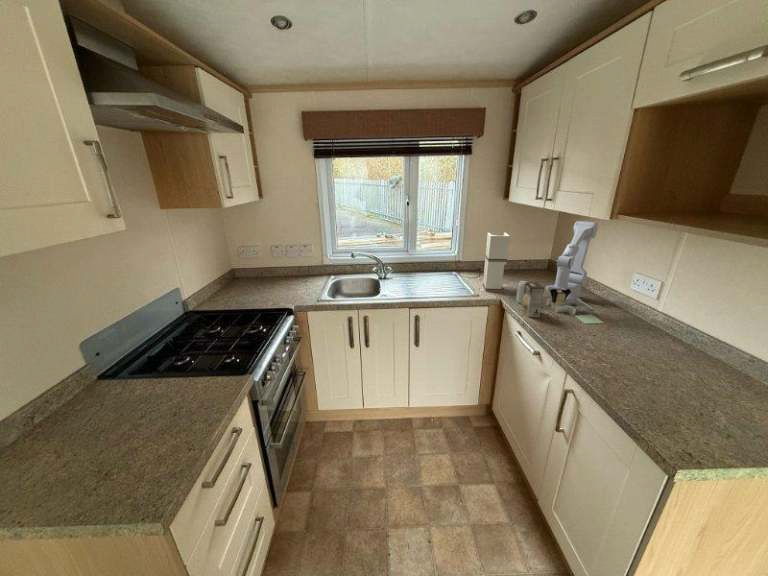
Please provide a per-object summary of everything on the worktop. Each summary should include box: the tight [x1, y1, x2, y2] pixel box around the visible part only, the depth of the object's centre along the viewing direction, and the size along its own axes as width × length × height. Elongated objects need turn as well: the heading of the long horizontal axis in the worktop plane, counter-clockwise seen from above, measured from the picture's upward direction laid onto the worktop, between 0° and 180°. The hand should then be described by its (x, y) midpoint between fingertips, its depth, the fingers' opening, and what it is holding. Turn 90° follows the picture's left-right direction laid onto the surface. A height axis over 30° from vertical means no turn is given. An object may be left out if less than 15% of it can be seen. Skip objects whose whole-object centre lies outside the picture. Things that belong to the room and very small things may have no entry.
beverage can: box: [515, 280, 528, 304], centre depth 171 cm, size 6×6×12 cm
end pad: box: [573, 314, 605, 325], centre depth 150 cm, size 9×9×1 cm
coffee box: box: [521, 281, 545, 318], centre depth 156 cm, size 9×6×16 cm
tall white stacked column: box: [482, 232, 511, 293], centre depth 188 cm, size 11×11×35 cm
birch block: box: [550, 290, 566, 310], centre depth 162 cm, size 4×4×9 cm
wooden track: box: [546, 298, 595, 316], centre depth 161 cm, size 15×16×4 cm
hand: (557, 302), depth 163 cm, fingers closed on birch block, 4 cm apart
